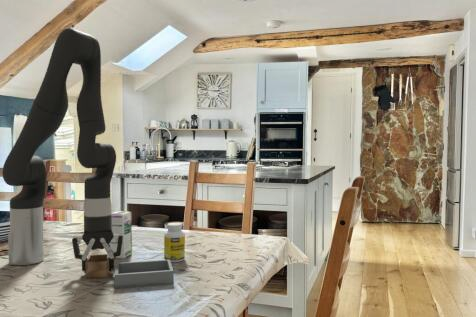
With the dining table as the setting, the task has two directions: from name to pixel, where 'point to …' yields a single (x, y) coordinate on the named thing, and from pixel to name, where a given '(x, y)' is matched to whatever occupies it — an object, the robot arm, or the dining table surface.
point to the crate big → (143, 273)
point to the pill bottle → (174, 243)
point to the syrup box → (122, 232)
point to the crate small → (97, 266)
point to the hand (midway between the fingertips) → (98, 271)
